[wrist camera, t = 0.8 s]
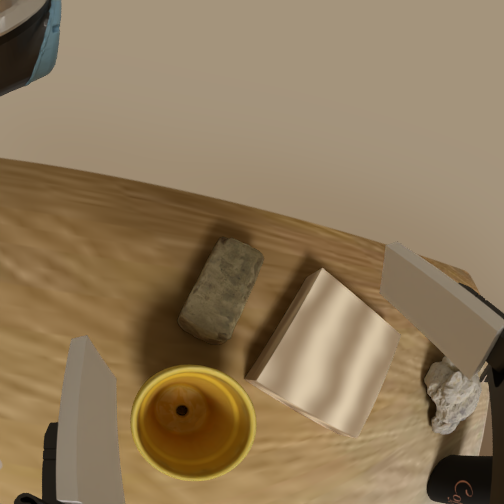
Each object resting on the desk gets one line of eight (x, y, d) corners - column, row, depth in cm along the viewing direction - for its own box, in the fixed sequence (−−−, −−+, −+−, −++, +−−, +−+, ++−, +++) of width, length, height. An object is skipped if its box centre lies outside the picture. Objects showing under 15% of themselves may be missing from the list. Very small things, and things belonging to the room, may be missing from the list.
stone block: (253, 265, 37) (268, 252, 33) (218, 349, 32) (230, 347, 28) (213, 244, 37) (223, 227, 32) (172, 327, 31) (176, 322, 27)
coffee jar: (422, 478, 33) (502, 486, 17) (451, 444, 38) (525, 443, 22) (427, 509, 31) (498, 520, 15) (455, 476, 35) (522, 479, 20)
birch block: (244, 379, 32) (256, 380, 28) (306, 276, 39) (322, 267, 36) (338, 434, 32) (357, 438, 29) (382, 338, 40) (401, 334, 37)
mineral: (467, 347, 44) (493, 333, 36) (463, 429, 36) (491, 429, 27) (416, 348, 47) (438, 335, 38) (410, 436, 39) (432, 440, 30)
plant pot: (238, 434, 29) (272, 457, 20) (153, 459, 24) (157, 494, 16) (211, 353, 31) (236, 350, 23) (122, 374, 27) (112, 380, 19)
